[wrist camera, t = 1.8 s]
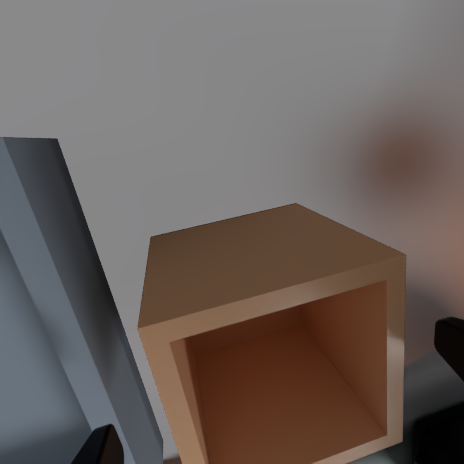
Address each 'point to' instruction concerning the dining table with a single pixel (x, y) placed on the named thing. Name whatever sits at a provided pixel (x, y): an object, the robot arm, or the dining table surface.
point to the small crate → (276, 339)
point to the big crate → (59, 322)
